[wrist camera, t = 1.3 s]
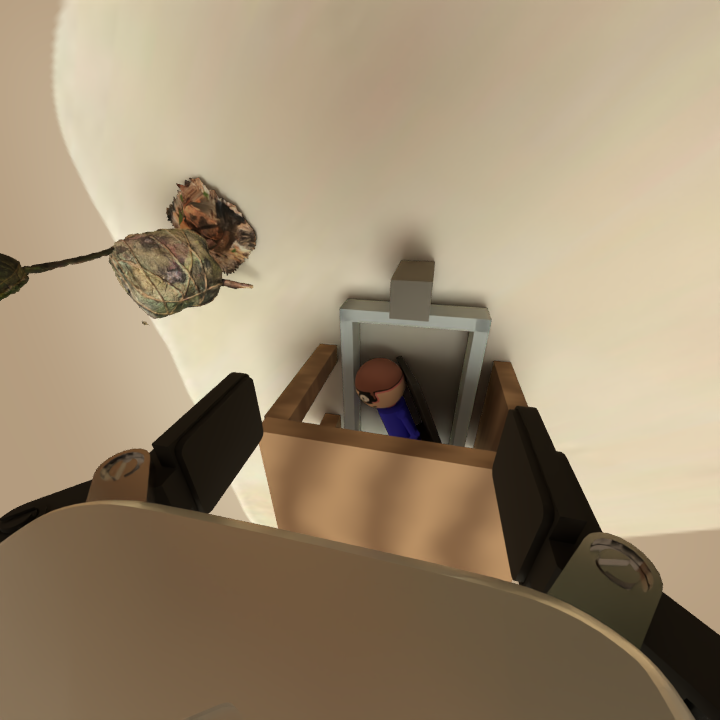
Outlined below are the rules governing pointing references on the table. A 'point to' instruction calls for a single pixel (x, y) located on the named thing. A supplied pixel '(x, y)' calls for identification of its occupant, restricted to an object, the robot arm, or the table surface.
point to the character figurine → (395, 398)
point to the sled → (414, 311)
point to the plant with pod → (167, 255)
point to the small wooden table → (388, 478)
